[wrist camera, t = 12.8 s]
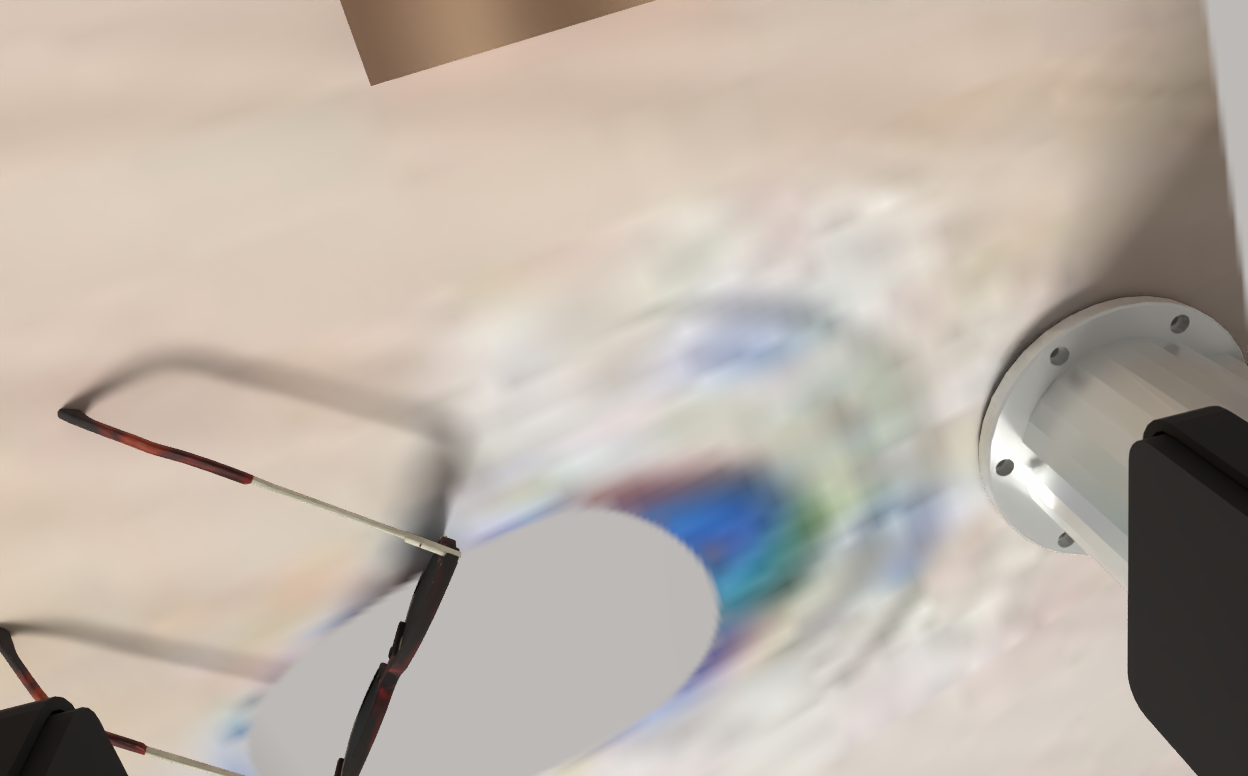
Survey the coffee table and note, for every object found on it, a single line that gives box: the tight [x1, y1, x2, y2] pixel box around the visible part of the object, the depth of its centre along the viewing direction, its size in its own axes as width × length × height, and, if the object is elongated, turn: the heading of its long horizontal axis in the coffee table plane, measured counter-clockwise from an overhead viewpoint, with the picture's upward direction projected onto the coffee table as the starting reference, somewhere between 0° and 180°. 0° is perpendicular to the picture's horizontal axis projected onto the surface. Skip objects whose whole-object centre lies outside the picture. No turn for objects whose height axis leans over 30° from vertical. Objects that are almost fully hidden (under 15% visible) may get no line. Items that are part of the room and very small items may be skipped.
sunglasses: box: [0, 409, 461, 776], centre depth 44 cm, size 14×16×5 cm
